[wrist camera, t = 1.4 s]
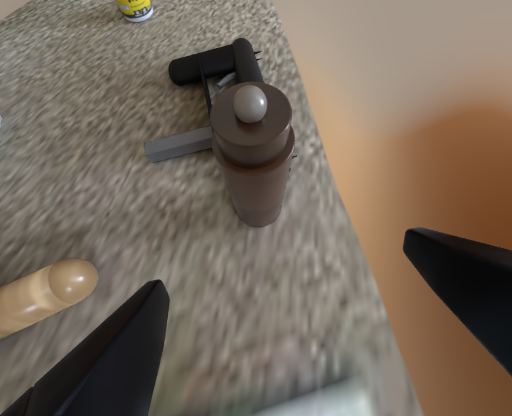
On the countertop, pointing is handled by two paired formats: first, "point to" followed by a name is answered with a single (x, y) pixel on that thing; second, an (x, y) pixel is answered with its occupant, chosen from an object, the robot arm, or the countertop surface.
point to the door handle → (201, 68)
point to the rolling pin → (45, 293)
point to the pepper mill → (253, 148)
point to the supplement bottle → (135, 9)
